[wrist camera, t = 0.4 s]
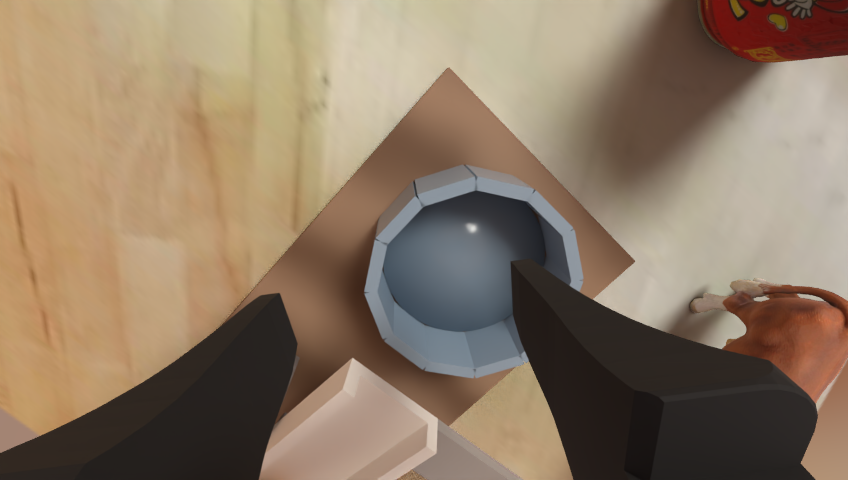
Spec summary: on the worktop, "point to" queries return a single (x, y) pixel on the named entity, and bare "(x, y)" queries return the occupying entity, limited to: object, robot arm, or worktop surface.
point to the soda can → (777, 28)
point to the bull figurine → (788, 329)
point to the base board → (349, 261)
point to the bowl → (462, 268)
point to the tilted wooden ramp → (370, 437)
